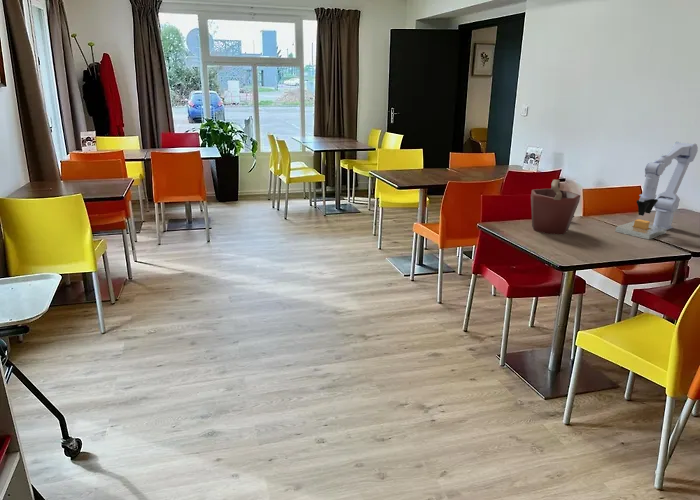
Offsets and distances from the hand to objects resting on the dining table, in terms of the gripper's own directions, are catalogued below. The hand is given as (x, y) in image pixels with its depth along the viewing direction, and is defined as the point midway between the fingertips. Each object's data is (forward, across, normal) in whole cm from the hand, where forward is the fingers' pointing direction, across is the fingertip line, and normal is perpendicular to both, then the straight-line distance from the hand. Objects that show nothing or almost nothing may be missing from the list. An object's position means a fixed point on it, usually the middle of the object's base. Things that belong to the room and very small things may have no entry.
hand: (644, 214), depth 252 cm
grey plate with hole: (+9, 0, 0) cm, 9 cm away
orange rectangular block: (+9, 0, 0) cm, 9 cm away
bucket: (+10, +37, -29) cm, 48 cm away
